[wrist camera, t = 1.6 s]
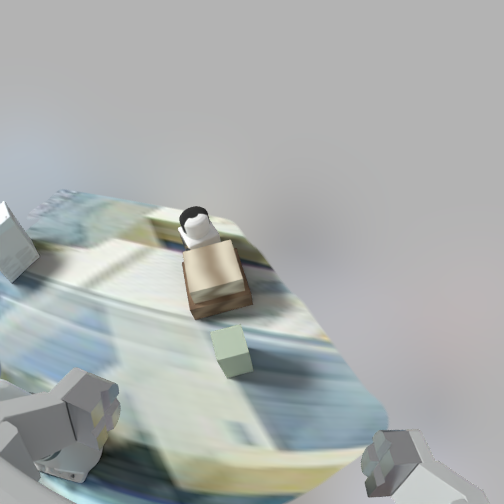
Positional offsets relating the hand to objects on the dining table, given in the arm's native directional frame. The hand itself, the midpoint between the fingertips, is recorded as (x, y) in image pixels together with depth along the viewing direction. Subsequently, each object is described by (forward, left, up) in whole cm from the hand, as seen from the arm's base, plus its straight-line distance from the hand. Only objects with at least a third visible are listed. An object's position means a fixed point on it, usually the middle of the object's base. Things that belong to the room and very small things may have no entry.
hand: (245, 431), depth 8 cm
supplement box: (-61, +63, -44) cm, 99 cm away
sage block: (-1, +18, -44) cm, 48 cm away
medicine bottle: (-2, +46, -44) cm, 64 cm away
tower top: (-1, +36, -40) cm, 54 cm away
